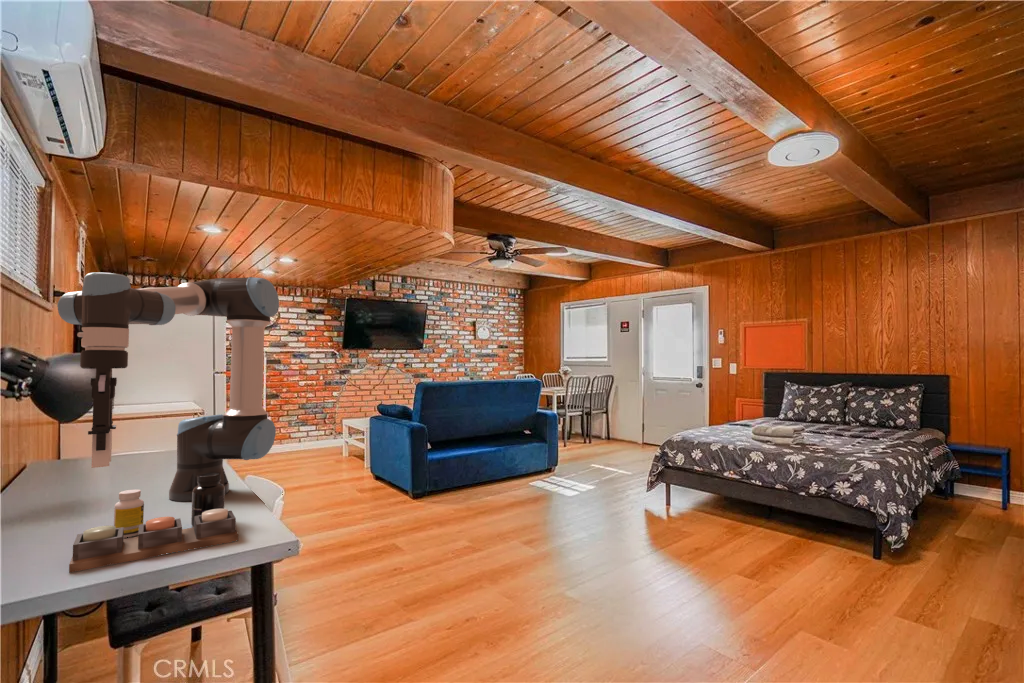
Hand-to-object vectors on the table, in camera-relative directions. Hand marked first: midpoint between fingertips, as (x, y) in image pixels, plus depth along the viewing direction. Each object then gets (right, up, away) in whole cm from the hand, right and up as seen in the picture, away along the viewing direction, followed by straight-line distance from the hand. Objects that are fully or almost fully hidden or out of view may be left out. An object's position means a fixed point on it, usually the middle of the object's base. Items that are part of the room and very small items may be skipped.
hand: (101, 464), depth 101 cm
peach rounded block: (+16, -16, +11) cm, 25 cm away
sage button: (0, -15, -1) cm, 15 cm away
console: (+8, -19, +5) cm, 21 cm away
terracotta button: (+8, -16, +5) cm, 18 cm away
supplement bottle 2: (+9, -20, +21) cm, 30 cm away
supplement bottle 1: (-5, -20, +13) cm, 24 cm away
